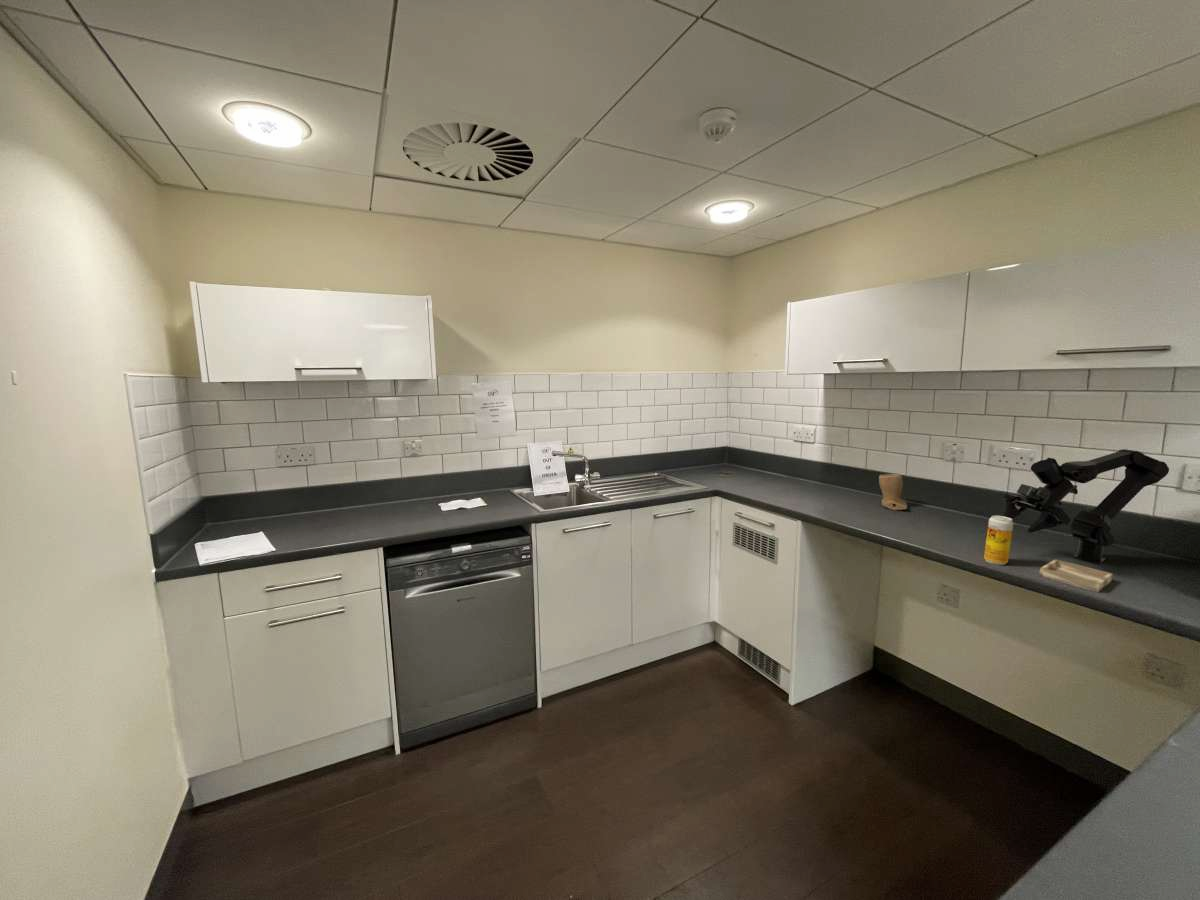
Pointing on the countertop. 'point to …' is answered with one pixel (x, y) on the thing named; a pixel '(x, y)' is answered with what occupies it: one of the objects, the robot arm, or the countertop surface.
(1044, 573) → the holder tray
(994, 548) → the yellow orange canister
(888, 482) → the tan boot
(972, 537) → the countertop surface
